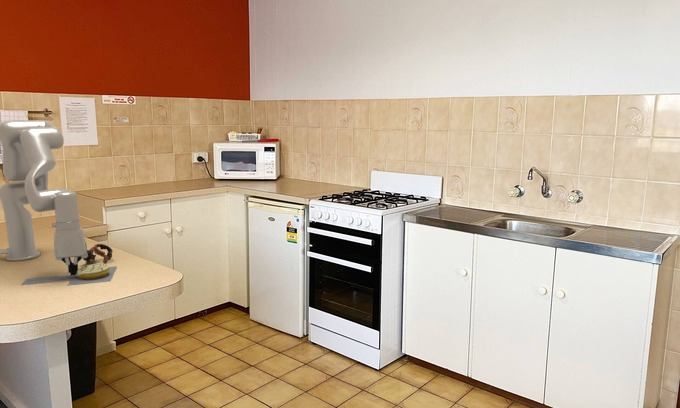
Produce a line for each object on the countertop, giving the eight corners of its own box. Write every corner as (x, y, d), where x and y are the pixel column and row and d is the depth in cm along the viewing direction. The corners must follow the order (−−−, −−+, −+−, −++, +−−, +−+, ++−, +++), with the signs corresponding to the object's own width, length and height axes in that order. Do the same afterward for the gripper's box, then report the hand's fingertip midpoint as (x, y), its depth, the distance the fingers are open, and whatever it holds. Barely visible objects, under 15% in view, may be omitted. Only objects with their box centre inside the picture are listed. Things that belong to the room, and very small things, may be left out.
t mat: (15, 290, 180) (15, 290, 180) (31, 274, 198) (31, 273, 198) (110, 281, 189) (110, 280, 189) (117, 266, 207) (117, 266, 207)
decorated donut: (81, 273, 198) (80, 263, 198) (111, 270, 201) (110, 261, 200) (75, 281, 188) (74, 271, 188) (107, 278, 191) (106, 268, 190)
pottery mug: (98, 258, 220) (107, 242, 219) (110, 271, 216) (119, 254, 215) (72, 258, 210) (80, 241, 208) (84, 272, 206) (93, 254, 204)
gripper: (42, 229, 185) (48, 279, 188) (89, 225, 189) (94, 275, 192) (47, 224, 192) (53, 273, 195) (92, 221, 196) (97, 269, 199)
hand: (73, 274), depth 194 cm, fingers closed
